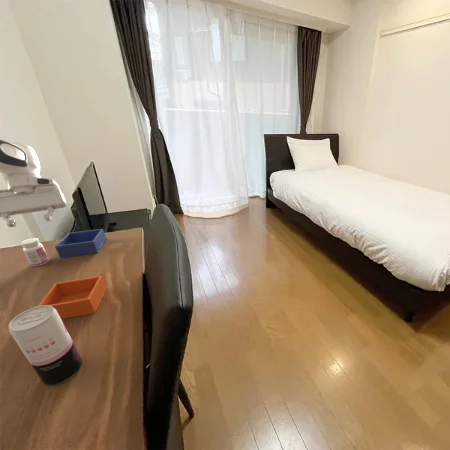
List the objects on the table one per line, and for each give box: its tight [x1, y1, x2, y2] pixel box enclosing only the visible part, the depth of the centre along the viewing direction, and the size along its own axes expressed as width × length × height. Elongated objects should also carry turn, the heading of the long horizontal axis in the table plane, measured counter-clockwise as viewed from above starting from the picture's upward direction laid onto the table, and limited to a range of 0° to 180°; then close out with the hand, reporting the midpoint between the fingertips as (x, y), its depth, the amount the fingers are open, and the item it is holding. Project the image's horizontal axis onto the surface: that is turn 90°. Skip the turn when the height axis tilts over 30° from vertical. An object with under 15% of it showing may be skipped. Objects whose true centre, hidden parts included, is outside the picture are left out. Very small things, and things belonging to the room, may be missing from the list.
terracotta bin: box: [37, 275, 108, 320], centre depth 72 cm, size 11×10×5 cm
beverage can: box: [8, 305, 83, 386], centre depth 53 cm, size 7×7×15 cm
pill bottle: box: [21, 237, 50, 267], centre depth 89 cm, size 5×5×8 cm
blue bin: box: [54, 228, 107, 259], centre depth 98 cm, size 11×10×5 cm
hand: (30, 223), depth 91 cm, fingers open, 8 cm apart
